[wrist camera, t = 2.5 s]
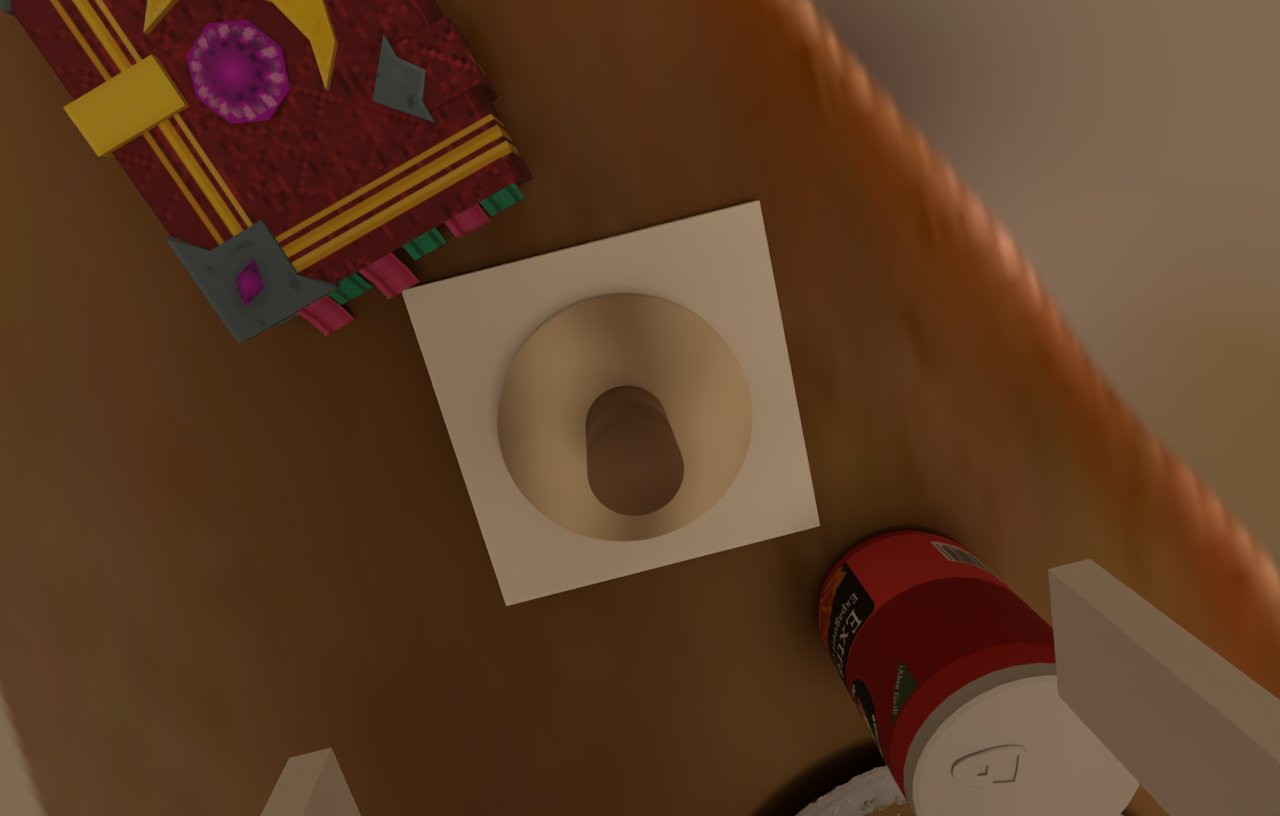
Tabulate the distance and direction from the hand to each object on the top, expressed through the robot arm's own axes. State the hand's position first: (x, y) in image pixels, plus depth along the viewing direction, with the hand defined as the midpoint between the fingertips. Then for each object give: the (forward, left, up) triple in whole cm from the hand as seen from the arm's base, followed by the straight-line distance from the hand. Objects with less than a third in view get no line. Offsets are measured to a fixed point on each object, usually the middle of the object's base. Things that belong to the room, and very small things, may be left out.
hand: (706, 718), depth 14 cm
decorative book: (-8, +15, -19) cm, 26 cm away
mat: (0, 0, -19) cm, 19 cm away
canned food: (+10, -12, -19) cm, 24 cm away
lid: (0, 0, -18) cm, 18 cm away
